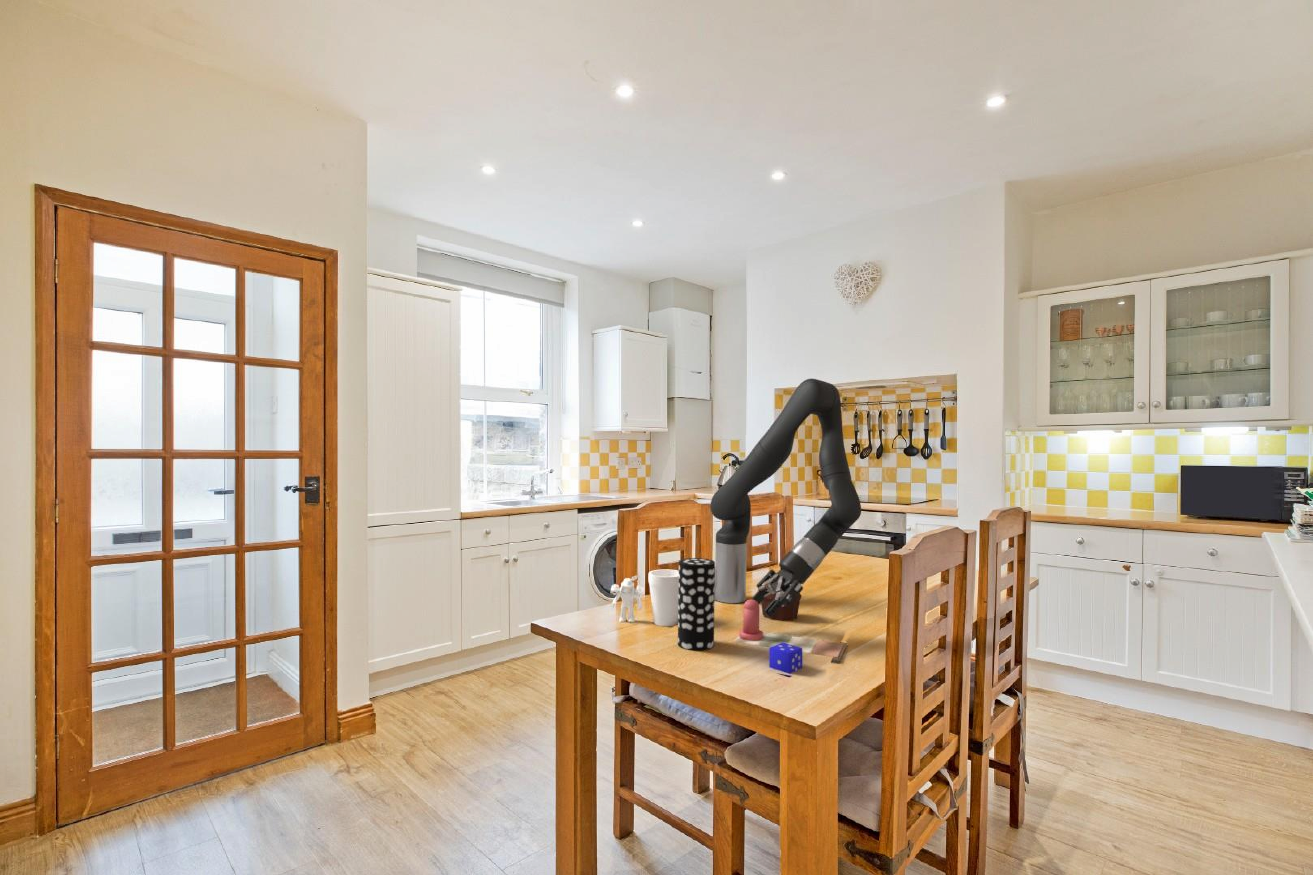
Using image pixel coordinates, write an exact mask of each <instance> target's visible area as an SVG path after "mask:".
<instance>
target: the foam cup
mask: <svg viewBox="0 0 1313 875" xmlns="http://www.w3.org/2000/svg"><path fill="white" fill-rule="evenodd" d="M648 584H649V592H650V600H651V610H652V617H653V619H652V620H653V624H654V625H656V626H660V627H673V626H677V625H678V590H679V569H678V570H677V569H668V568H667V569H664V568H663V569H655V570H650V571H649V572H648Z"/></svg>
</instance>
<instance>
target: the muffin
mask: <svg viewBox="0 0 1313 875" xmlns="http://www.w3.org/2000/svg"><path fill="white" fill-rule="evenodd" d="M767 590H768V589H767ZM776 594H777V593H774V594H769V595H767V596H765V598H764V599H763V600H762V601H761V603H760V604H761V605H760V606H761V612H762V615H763V617H764V618H765V619H769V620H772V621H780V622H783V621H784V622H785V621H793V620H797V619H798V614H799V608H800V603H801V599H802V594H801V592H800V593H799V595H798V596H797V597H796V598H795V600H794V601H793V602H792V603H791V605H790V606H788V607H787V606H786V605H784V606H783V607H782V606H781V607H780V608H779V609H778V610H777V611H776V613H775V614H774V615H773V616H772V617H768V616H767V615H766V614H765V613H764V610H765V609H766V608H767V607H768V605H769V604H770V603H771V602H772V601H773V600H775V597H776ZM790 597H791V596H789V599H790ZM789 599H787V600H789Z"/></svg>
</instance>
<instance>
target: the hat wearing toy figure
mask: <svg viewBox="0 0 1313 875" xmlns="http://www.w3.org/2000/svg"><path fill="white" fill-rule="evenodd" d="M639 576H640V575H639V574H637V575H634V576H631V578H629V577H626V578H624V580H622V582H621V583H620V584H621V586H619V584H617V583H615V584H614V583H613V584H612V585H611V588H610V593H611V594H612V595H614V596H615V595H616V596H615V597H614V599H613V601H612V603H611V607H612V608H614V607H615V605H617V604H618V600H620V598H621V604H620V616H619V620H618V622H620V623H625V622H626V621H627V622H628V623H634V622H635V615H634V614H635V612H634V602H635V601H636V603H635V607H638V608H637V609H638V611H639V610H642V607H643V605H642V600H641V598H640V596H641V595H642V596H644V595H645V588H644V587H643V586H642V585H639V584H638V585H636V586H635V583H634V581H635V580H638V578H639ZM626 611H627V612H628V613H627V612H626ZM626 614H628V620H627V615H626Z"/></svg>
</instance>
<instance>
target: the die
mask: <svg viewBox="0 0 1313 875" xmlns="http://www.w3.org/2000/svg"><path fill="white" fill-rule="evenodd" d="M768 648H769V651H768V652H769V653H768V654H769V660H768V661H769V663H768V666H769V668H771V669H772V670H776V671H778V672H779V671H780V672H783V673H776V675H777V674H778V675H779V676H783V677H786V678H791V677H792V675H790V674H792V673H794V672H796V671H799V670H801V669H803V652H802V648H800V647H797V646H793V645H790V644H788V643H787V644H786V643H780V644H778V645H775V646H773V647H768ZM784 673H785V674H784ZM788 674H789V675H788Z"/></svg>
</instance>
